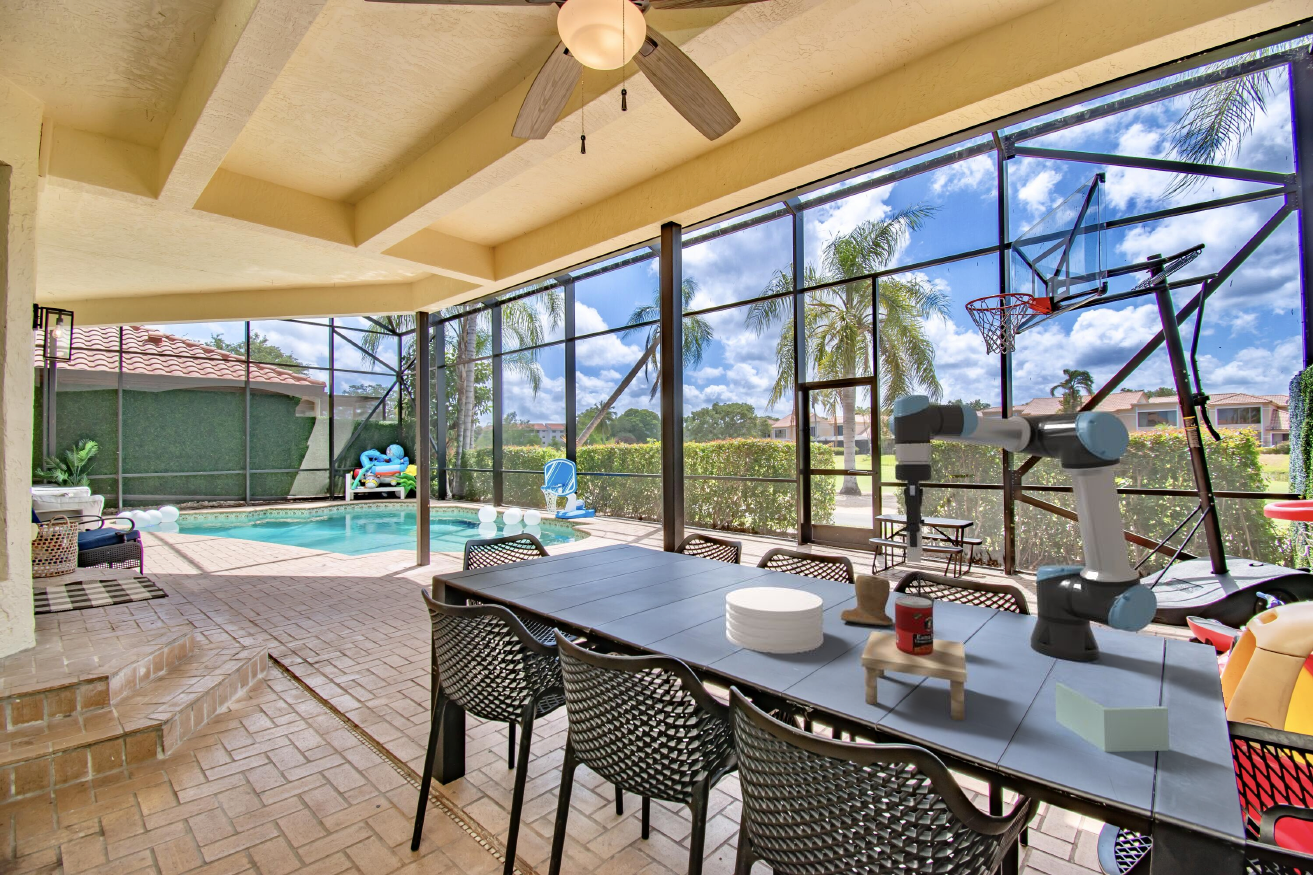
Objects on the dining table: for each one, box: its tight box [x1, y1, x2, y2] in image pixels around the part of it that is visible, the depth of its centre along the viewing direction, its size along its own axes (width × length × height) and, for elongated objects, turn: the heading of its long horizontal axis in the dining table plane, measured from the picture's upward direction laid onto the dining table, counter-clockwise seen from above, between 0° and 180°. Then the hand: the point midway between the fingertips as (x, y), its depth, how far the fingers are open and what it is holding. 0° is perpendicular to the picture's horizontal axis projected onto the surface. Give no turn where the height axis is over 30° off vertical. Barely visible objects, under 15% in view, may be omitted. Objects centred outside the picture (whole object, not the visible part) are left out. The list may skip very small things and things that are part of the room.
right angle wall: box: [1054, 682, 1170, 753], centre depth 109 cm, size 12×12×8 cm
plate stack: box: [725, 586, 824, 654], centre depth 168 cm, size 28×28×12 cm
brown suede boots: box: [840, 574, 894, 626], centre depth 182 cm, size 15×12×15 cm
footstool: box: [861, 630, 968, 721], centre depth 127 cm, size 20×20×10 cm
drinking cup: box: [904, 574, 936, 605], centre depth 159 cm, size 8×8×20 cm
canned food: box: [894, 595, 934, 655], centre depth 128 cm, size 8×8×11 cm
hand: (915, 556), depth 129 cm, fingers open, 13 cm apart
